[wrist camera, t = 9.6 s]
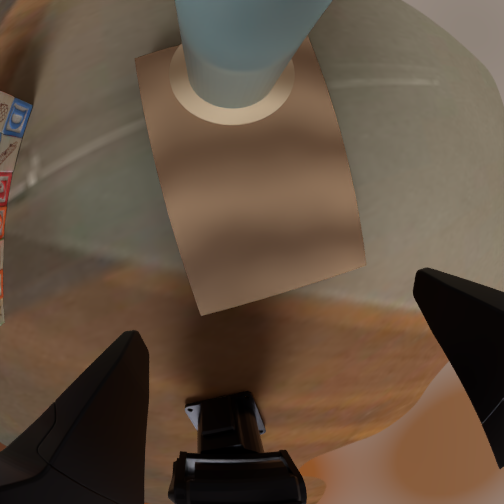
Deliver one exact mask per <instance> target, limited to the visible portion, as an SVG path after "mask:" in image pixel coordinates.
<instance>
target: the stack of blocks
mask: <svg viewBox="0 0 504 504" xmlns="http://www.w3.org/2000/svg"><path fill="white" fill-rule="evenodd" d="M31 110H32V105H31V104H29V103H27V102H24V101H22V100H20V99H18V98H16V97H14V96H12V95H9V94H7V93H5V92H2V91H0V326H1V325H2V324H3V323H4V310H3V252H4V226H5V217H6V209H7V206H6V205H7V200H8V195H9V189H10V183H11V178H12V172H13V171H14V167H15V162H16V158H17V154H18V151H19V147H20V143H21V140H22V136H23V134H24V130H25V127H26V124H27V121H28V118H29V115H30V112H31Z"/></svg>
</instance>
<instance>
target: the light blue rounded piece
mask: <svg viewBox="0 0 504 504" xmlns="http://www.w3.org/2000/svg"><path fill="white" fill-rule="evenodd" d="M331 2H332V0H175V4H176V10H177V17H178V23H179V29H180V35H181V41H182V46H183V52H184V58H185V63H186V69H187V74H188V79H189V83H190V85H191V87H192V89H193V90H194V92H195V93H196V94H197V95H198V96H199V97H200V98H201V99H203V100H204V101H206V102H208V103H210V104H212V105H214V106H218V107H222V108H231V109H234V108H243V107H247V106H251V105H253V104H256V103H257V102H259V101H261V100H262V99H263V98H265V97H266V96H267V95H268V94H269V93H270V91H271V90H272V88H273V87H274V85H275V84H276V82H277V80H278V79H279V77H280V76H281V74H282V73H283V71H284V69H285V68H286V66H287V65H288V63H289V62H290V60H291V59H292V57H293V56H294V54H295V53H296V51H297V50H298V48H299V47H300V45H301V44H302V42H303V41H304V39H305V38H306V36H307V35H308V34H309V32H310V31H311V29H312V28H313V26H314V25H315V24H316V22H317V21H318V19H319V18H320V17H321V15H322V14H323V13H324V11H325V10H326V8H327V7H328V6H329V4H330V3H331Z"/></svg>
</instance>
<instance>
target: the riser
mask: <svg viewBox="0 0 504 504" xmlns="http://www.w3.org/2000/svg"><path fill="white" fill-rule="evenodd" d="M135 64H136V70H137V77H138V83H139V88H140V94H141V99H142V105H143V110H144V115H145V120H146V125H147V129H148V134H149V139H150V143H151V147H152V152H153V156H154V160H155V165H156V169H157V173H158V177H159V181H160V185H161V188H162V192H163V196H164V200H165V203H166V207H167V211H168V214H169V218H170V221H171V225H172V228H173V232H174V235H175V238H176V242H177V245H178V248H179V251H180V255H181V258H182V261H183V264H184V267H185V270H186V274H187V277H188V280H189V283H190V286H191V289H192V291H193V294H194V297H195V300H196V303H197V306H198V309H199V312H200V314H201V316H203V315H207V314H211V313H214V312H218V311H222V310H225V309H229V308H233V307H236V306H240V305H243V304H247V303H250V302H254V301H257V300H261V299H264V298H267V297H271V296H274V295H277V294H281V293H284V292H287V291H290V290H294V289H297V288H300V287H303V286H306V285H309V284H313V283H316V282H319V281H322V280H325V279H328V278H331V277H334V276H337V275H340V274H343V273H346V272H349V271H352V270H354V269H357V268H360V267H363V266H366V258H365V251H364V243H363V237H362V230H361V224H360V218H359V212H358V207H357V201H356V196H355V191H354V186H353V181H352V177H351V172H350V168H349V164H348V159H347V155H346V151H345V147H344V143H343V139H342V136H341V132H340V128H339V125H338V121H337V118H336V114H335V111H334V108H333V104H332V101H331V98H330V95H329V92H328V89H327V86H326V83H325V80H324V77H323V74H322V71H321V69H320V66H319V63H318V60H317V58H316V55H315V53H314V50H313V47H312V45H311V42H310V40H309V38H308V35H307V36H306V38H305V39H304V41H303V42H302V44H301V45H300V47H299V48H298V50H297V51H296V53H295V54H294V56H293V57H292V59H291V60H290V62H289V63H288V65H287V66H286V68H285V69H284V71H283V73H282V74H281V76H280V77H279V79H278V80H277V82H276V84H275V85H274V87H273V88H272V90H271V91H270V93H269V94H268V95H267V96H266V97H265V98H263V99H262V100H261V101H259V102H257V103H256V104H253V105H251V106H247V107H243V108H234V109H231V108H222V107H218V106H214V105H212V104H210V103H208V102H206V101H204V100H203V99H201V98H200V97H199V96H198V95H197V94H196V93H195V92H194V90H193V89H192V87H191V85H190V83H189V79H188V74H187V69H186V63H185V58H184V52H183V46H182V43H181V44H180V45H177V46H173V47H170V48H166V49H163V50H159V51H156V52H153V53H150V54H147V55H144V56H141V57H138V58H135Z"/></svg>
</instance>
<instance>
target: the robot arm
mask: <svg viewBox="0 0 504 504" xmlns="http://www.w3.org/2000/svg"><path fill="white" fill-rule="evenodd" d="M413 296H414V298H415V300H416V302H417V304H418V306H419V308H420V310H421V312H422V313H423V315H424V317H425V319H426V321H427V323H428V325H429V327H430V329H431V331H432V333H433V334H434V336H435V338H436V339H437V341H438V343H439V344H440V346H441V348H442V349H443V351H444V353H445V354H446V356H447V358H448V360H449V361H450V363H451V365H452V367H453V368H454V370H455V372H456V374H457V375H458V377H459V379H460V381H461V383H462V385H463V387H464V388H465V391H466V393H467V394H468V396H469V398H470V400H471V402H472V405H473V407H474V409H475V411H476V413H477V415H478V417H479V419H480V421H481V423H482V426H483V429H484V431H485V433H486V436H487V438H488V441H489V443H490V446H491V448H492V451H493V453H494V456H495V459H496V462H497V464H498V467H499V469H501V468H502V467H504V292H502V291H499V290H496V289H493V288H490V287H487V286H484V285H481V284H478V283H475V282H472V281H469V280H466V279H463V278H460V277H457V276H454V275H450V274H447V273H444V272H441V271H438V270H434V269H431V268H423V269H420V270H418V271H417V272H416V276H415V282H414V287H413ZM245 396H248V397H245ZM148 404H149V352H148V349H147V347H146V345H145V343H144V341H143V339H142V338H141V336H140V334H139V332H138V331H136V330H132V331H125V332H124V333H123V334H121V335H120V336H119V337H118V338H117V339H116V340H115V341H114V342H113V343H112V344H111V345H110V346H109V347H108V348H107V349H106V350H105V351H104V352H103V353H102V354H101V355H100V356H99V357H98V358H97V359H96V360H95V361H94V362H93V363H92V364H91V365H90V366H89V367H88V368H87V369H86V370H85V371H84V372H83V373H82V374H81V375H80V376H79V377H78V378H77V379H76V380H75V381H74V382H73V383H72V384H71V385H70V386H69V387H68V388H67V389H66V390H65V391H64V392H63V393H62V394H61V395H60V396H59V397H58V398H57V399H56V401H55V402H53V404H52V405H51V406H50V407H49V408H48V409H47V410H46V411H45V412H44V413H43V414H42V415H41V416H40V417H39V418H38V419H37V420H36V421H35V422H34V423H33V424H32V425H30V426H29V427H28V428H27V429H26V430H25V431H24V432H23V433H22V434H21V435H19V436H18V437H17V438H16V439H15V440H14V441H13V442H12V443H11V444H10V445H8V446H7V447H6V448H5V449H4V450H3V451H1V452H0V504H144V469H145V444H146V428H147V416H148ZM189 408H191V409H189ZM185 411H186V413H187V415H188V416H189V418H190V420H191V421H192V423H193V425H194V426H195V428H196V429H197V431H198V453H187V452H182V451H180V456H179V458H177V461H175V462H173V476H172V480H171V484H170V487H169V491H168V498H169V499H170V500H171V501H172V502H173V503H175V504H306V500H307V493H306V487H305V483H304V480H303V477H302V475H301V474H300V472H299V470H298V469H297V467H296V466H295V464H294V462H293V461H292V459H291V457H290V456H289V454H288V452H287V451H286V450H279V451H278V452H266V453H264V450H263V445H262V441H261V437H260V434H264V433H265V432H266V430H265V427H264V424H263V422H262V419H261V416H260V414H259V411H258V409H257V406H256V403H255V401H254V398H253V395H252V393H251V392H249V391H245V392H241V393H237V394H233V395H229V396H224V397H220V398H215V399H211V400H206V401H201V402H196V403H191V404H187V405H186V406H185Z"/></svg>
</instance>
